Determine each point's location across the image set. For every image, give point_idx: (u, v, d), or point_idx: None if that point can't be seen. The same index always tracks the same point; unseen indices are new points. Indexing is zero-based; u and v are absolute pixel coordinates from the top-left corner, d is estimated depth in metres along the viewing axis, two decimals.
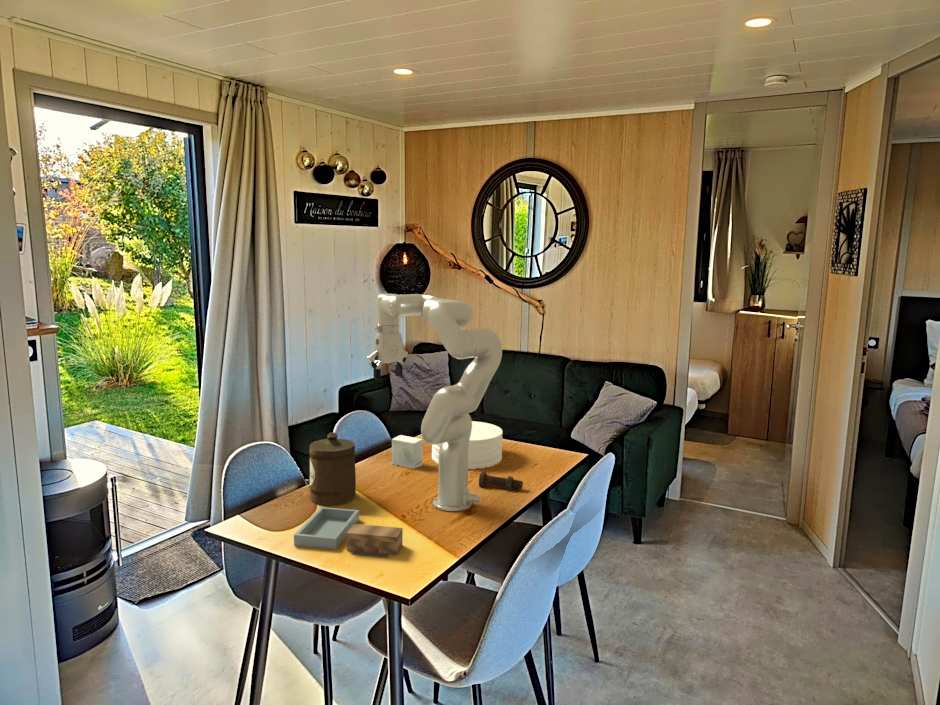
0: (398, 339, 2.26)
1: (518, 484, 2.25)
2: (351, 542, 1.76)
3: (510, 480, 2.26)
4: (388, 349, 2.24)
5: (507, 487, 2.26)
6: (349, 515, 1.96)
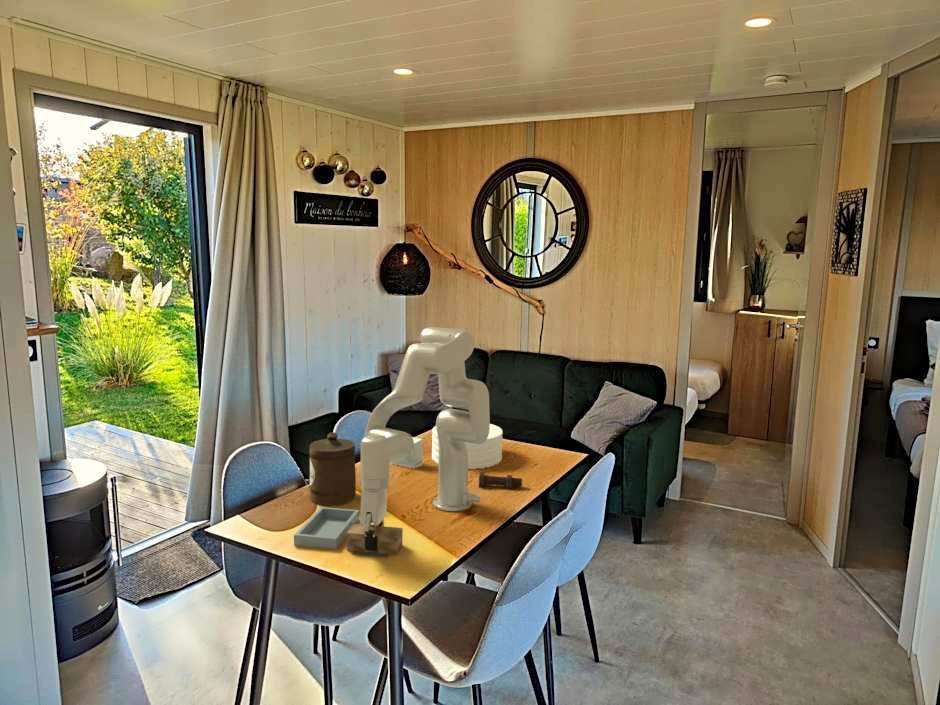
0: None
1: (518, 482, 2.27)
2: (351, 542, 1.76)
3: (510, 478, 2.27)
4: None
5: (508, 486, 2.27)
6: (349, 515, 1.96)
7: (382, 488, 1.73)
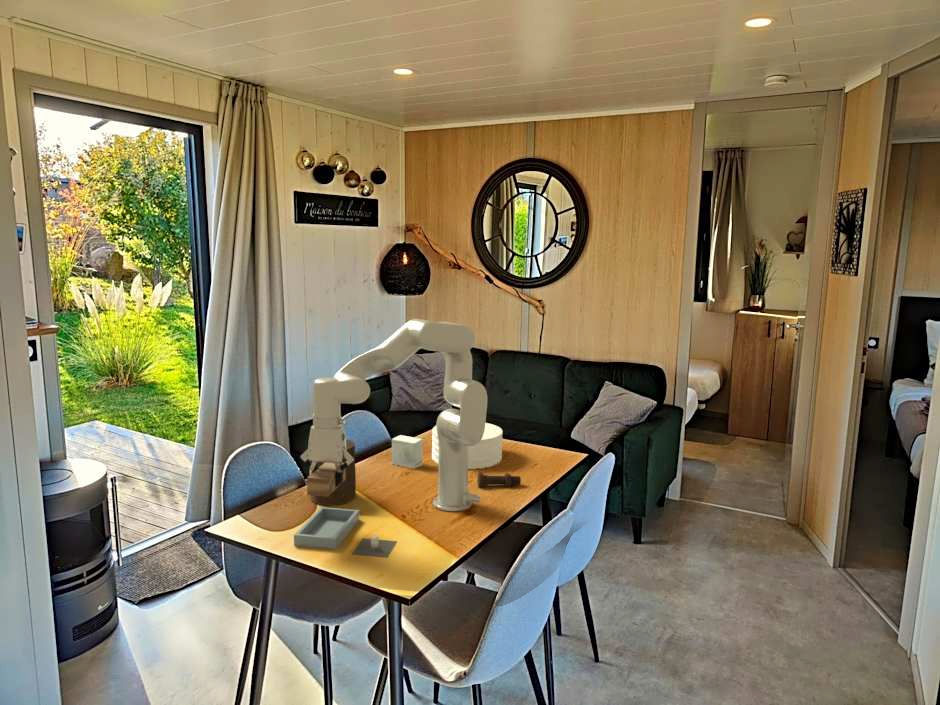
0: None
1: (518, 480, 2.29)
2: None
3: (510, 477, 2.29)
4: None
5: (507, 484, 2.29)
6: (349, 515, 1.96)
7: (314, 427, 1.81)
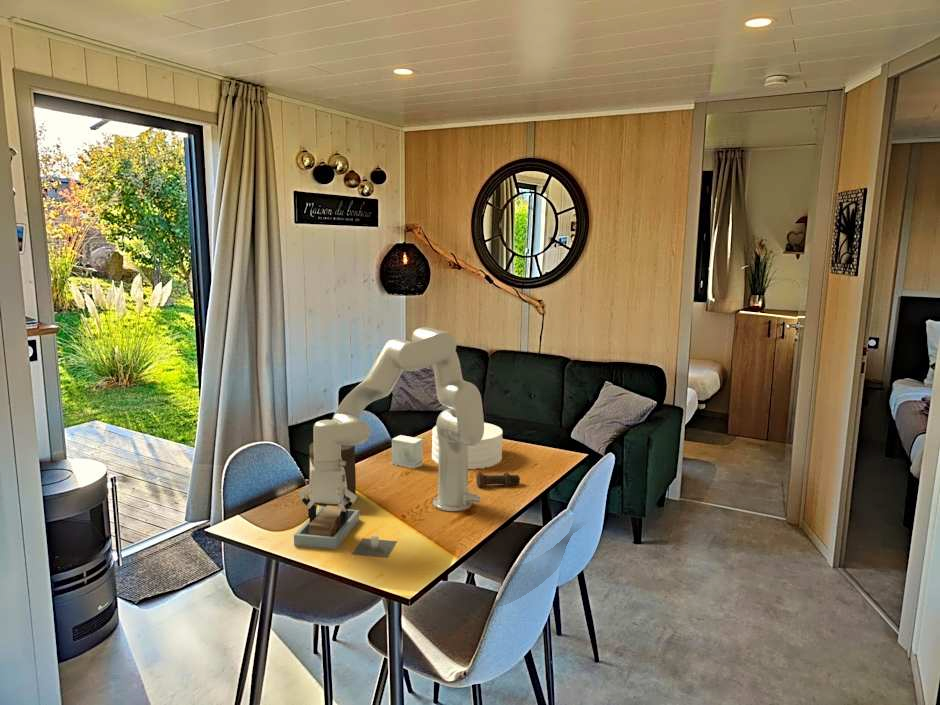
0: None
1: (517, 479, 2.30)
2: None
3: (509, 476, 2.30)
4: None
5: (507, 483, 2.29)
6: (349, 515, 1.96)
7: (315, 469, 1.82)
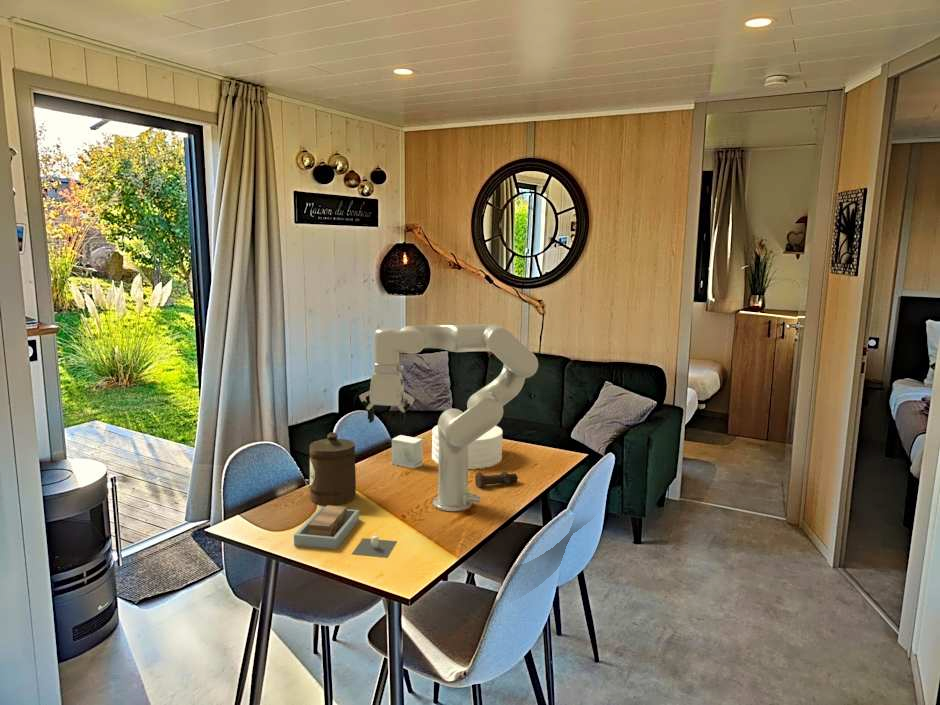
0: None
1: (515, 477, 2.32)
2: None
3: (508, 475, 2.31)
4: None
5: (506, 482, 2.30)
6: (349, 515, 1.96)
7: (376, 372, 1.99)
